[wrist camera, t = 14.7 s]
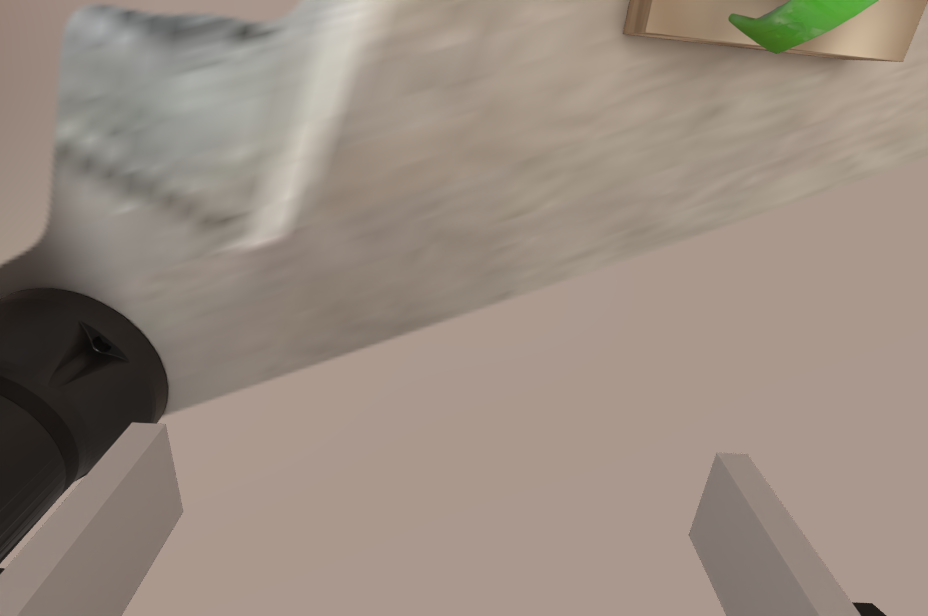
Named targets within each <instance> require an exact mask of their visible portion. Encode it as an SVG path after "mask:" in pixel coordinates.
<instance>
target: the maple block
mask: <svg viewBox="0 0 928 616" xmlns="http://www.w3.org/2000/svg"><path fill="white" fill-rule="evenodd" d="M788 1H789V0H630V2H629V7H628V12H627V17H626V22H625V27H624V32H623V34H628V35H637V36H646V37H655V38H663V39H672V40H681V41H690V42H698V43H707V44H716V45H725V46H733V47H742V48H751V49H760V50H767V49H765V48H764V47H762V46H761V45H759V44H757V43H756V42H755V41H753V40H752V39H751V38H749V37H748V36H746V35H745V34H744V33H742V32H741V31H740V30H739V29H737V28H736V27H735V26H734V25H733V24H732V23H730V22H729V20H728V18H729V16H730V14H738V15H743V16H747V17H751V18H755V19H756V18H759V17H761V16H763V15H764V14H767V13H769V12H771V11H772V10H774V9H775V8H777V7H779V6H782V5H783V4H785V3H786V2H788ZM927 2H928V0H879V1H877V2H876V3H874V4H873V5H871V6H870V7H868V8H867V9H865V10H864V11H862V12H861V13H859V14H858V15H856V16H855V17H853V18H851V19H849V20H847V21H846V22H844V23H843V24H841V25H839V26H837V27H836V28H834V29H832V30H830V31H828V32H826V33H824V34H822V35H820V36H817V37H815V38H813V39H811V40H809V41H806V42H804V43H802V44H800V45H797V46H795V47H793V48H790V49H788V50H786V51H784V52H786V53H794V54H803V55H812V56H821V57H829V58H838V59H847V60H871V61H896V62H903V60H904V58H905V55H906V53H907V51H908V48H909V46H910V43H911V41H912V38H913V36H914V33H915V31H916V29H917V26H918V24H919V21H920V19H921V16H922V14H923V11H924V9H925V7H926V4H927ZM768 51H769V50H768Z"/></svg>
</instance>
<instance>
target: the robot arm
mask: <svg viewBox="0 0 928 616" xmlns="http://www.w3.org/2000/svg"><path fill="white" fill-rule="evenodd" d="M166 401H167V381H166V376H165V373H164V370H163V367H162V364H161V362H160V360H159V358H158V356H157V354H156V352H155V351H154V349H153V348H152V346H151V345H150V343H149V342H148V341H147V340H146V338H145V337H144V336H143V335H142V334H141V333H140V332H139V331H138V330H137V329H136V328H135V327H134V326H133V325H132V324H131V323H130V322H129V321H127V320H126V319H125V318H124V317H122V316H121V315H120V314H118V313H117V312H115V311H114V310H112V309H110V308H109V307H107V306H105V305H103V304H101V303H99V302H97V301H95V300H93V299H91V298H88V297H85V296H83V295H80V294H76V293H73V292H69V291H64V290H57V289H29V290H23V291H19V292H16V293H13V294H10V295H8V296H6V297H4V298H2V299H0V563H1V562H2V561H3V560H4V559H5V558H6V557H7V555H8V554H9V553H10V552H11V551H12V550H13V549H14V548H15V546H16V545H17V544H18V543H19V542H20V541H21V540H22V539H23V537H24V536H25V535H26V534H27V533H28V532H29V531H30V530H31V528H33V526H34V525H35V524H36V523H37V522H38V521H39V520H40V519H41V517H42V516H43V515H44V514H45V513H46V512H47V511H48V509H49V508H50V507H51V506H52V505H53V504H54V503H55V502H56V500H57V499H58V498H59V497H60V496H61V495H62V494H63V493H64V492H65V491H66V490H67V489H68V487H69V486H70V485H71V484H72V483H73V482H74V481H77V480H78V479H80V478H82V477H84V476H85V477H84V479H83V480H82V481H81V482H80V483H79V484H78V486H77V487H76V488H75V489H74V490H73V491H72V492H71V494H70V495H69V496H68V497H67V498H66V499H65V500H64V502H63V503H62V504H61V505H60V506H59V507H58V508H57V510H56V511H55V512H54V513H53V514H52V515H51V517H50V518H49V519H48V520H47V521H46V522H45V523H44V525H43V526H42V527H41V528H40V529H39V530H38V532H37V533H36V534H35V535H34V536H33V537H32V538H31V540H30V541H29V542H28V543H27V544H26V545H25V547H24V548H23V549H22V550H21V551H20V552H19V553H18V555H17V556H16V557H15V558H14V559H13V560H12V561H11V563H10V564H9V565H8V566H7V567H6V568H5V569H4V568H0V616H122V614H123V612H124V611H125V609H126V607H127V605H128V604H129V602H130V600H131V599H132V597H133V595H134V594H135V592H136V590H137V588H138V587H139V585H140V584H141V582H142V580H143V579H144V577H145V575H146V574H147V572H148V570H149V568H150V567H151V565H152V563H153V562H154V560H155V558H156V557H157V555H158V553H159V552H160V550H161V548H162V547H163V545H164V543H165V542H166V540H167V538H168V536H169V535H170V533H171V531H172V530H173V528H174V526H175V525H176V523H177V521H178V519H179V518H180V516H181V515H182V513H183V508H182V503H181V498H180V493H179V488H178V483H177V478H176V473H175V469H174V463H173V458H172V454H171V448H170V443H169V438H168V433H167V429H166V424H157V422H158V421H159V419H160V418H161V416H162V414H163V412H164V409H165V406H166ZM689 536H690V539H691V541H692V543H693V545H694V547H695V549H696V552H697V554H698V556H699V558H700V560H701V562H702V564H703V566H704V568H705V571H706V573H707V575H708V577H709V579H710V581H711V584H712V586H713V588H714V590H715V592H716V594H717V597H718V599H719V601H720V603H721V605H722V607H723V609H724V611H725V614H726V616H886V615H885V614H884V613H883V612H881V611H880V610H879V609H878V608H877V607H876V606H874V605H873V604H872V603H852V602H851V601H850V599H849V598H848V596H847V595H846V593H845V592H844V591H843V589H842V588H841V587H840V585H839V584H838V582H837V581H836V579H835V578H834V576H833V575H832V574H831V572H830V571H829V569H828V568H827V567H826V565H825V564H824V562H823V561H822V559H821V558H820V557H819V555H818V554H817V552H816V551H815V549H814V548H813V547H812V545H811V544H810V542H809V541H808V539H807V538H806V537H805V535H804V534H803V532H802V531H801V529H800V528H799V527H798V525H797V524H796V522H795V521H794V520H793V518H792V517H791V515H790V514H789V513H788V511H787V510H786V508H785V507H784V505H783V504H782V502H781V501H780V500H779V498H778V497H777V495H776V494H775V493H774V491H773V490H772V488H771V487H770V485H769V484H768V483H767V481H766V480H765V478H764V477H763V475H762V474H761V473H760V471H759V470H758V468H757V467H756V466H755V464H754V463H753V461H752V460H751V458H750V457H749V456H748V455H747V454H734V453H716V456H715V459H714V462H713V465H712V468H711V471H710V474H709V477H708V480H707V482H706V485H705V489H704V491H703V494H702V497H701V500H700V503H699V506H698V509H697V512H696V515H695V518H694V521H693V524H692V527H691V530H690V533H689Z"/></svg>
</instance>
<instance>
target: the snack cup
mask: <svg viewBox="0 0 928 616" xmlns="http://www.w3.org/2000/svg"><path fill="white" fill-rule="evenodd" d="M877 1H879V0H789V1H788V2H786V3H785V4H783V5H782V6H779V7H777V8H775V9H774V10H772V11H771V12H769V13H767V14H764V15H763V16H761V17H759V18H756V19H755V18H751V17H747V16H743V15H738V14H730V16H729V18H728V20H729V22H730V23H732V24H733V25H734V26H735V27H736V28H737V29H739V30H740V31H741V32H742V33H744V34H745V35H746V36H748V37H749V38H751V39H752V40H753V41H755V42H756V43H757V44H759V45H761V46H762V47H764V48H765V49H767V50H769V51H770V52H773V53H780V52H784V51H786V50H788V49H790V48H793V47H795V46H797V45H800V44H802V43H804V42H806V41H809V40H811V39H813V38H815V37H817V36H820V35H822V34H824V33H826V32H828V31H830V30H832V29H834V28H836V27H837V26H839V25H841V24H843V23H844V22H846V21H847V20H849V19H851V18H853V17H855V16H856V15H858V14H859V13H861V12H862V11H864V10H865V9H867V8H868V7H870V6H871V5H873V4H874V3H876V2H877Z"/></svg>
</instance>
